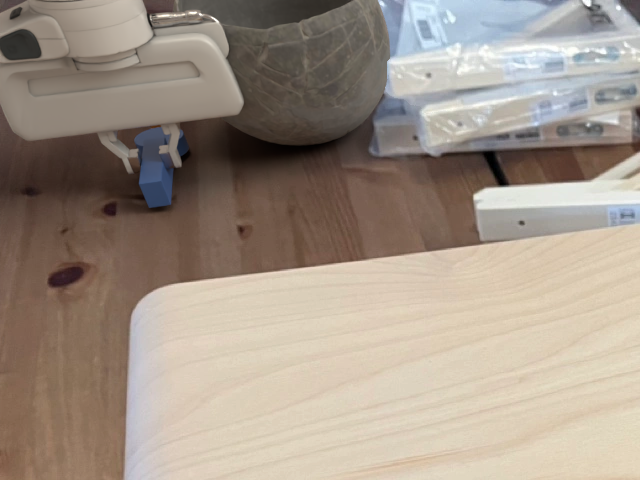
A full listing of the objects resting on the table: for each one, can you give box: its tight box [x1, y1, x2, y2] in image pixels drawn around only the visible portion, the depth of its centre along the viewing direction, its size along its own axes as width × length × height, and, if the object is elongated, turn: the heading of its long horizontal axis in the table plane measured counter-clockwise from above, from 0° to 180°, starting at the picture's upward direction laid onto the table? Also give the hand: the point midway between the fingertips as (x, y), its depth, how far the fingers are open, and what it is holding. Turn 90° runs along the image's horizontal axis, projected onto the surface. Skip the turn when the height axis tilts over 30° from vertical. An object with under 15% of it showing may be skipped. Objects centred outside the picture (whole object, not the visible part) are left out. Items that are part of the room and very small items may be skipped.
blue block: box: [133, 127, 190, 209], centre depth 102 cm, size 15×5×2 cm, turn 19°
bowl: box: [172, 0, 391, 146], centre depth 106 cm, size 20×20×15 cm
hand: (155, 168), depth 100 cm, fingers closed on blue block, 2 cm apart
